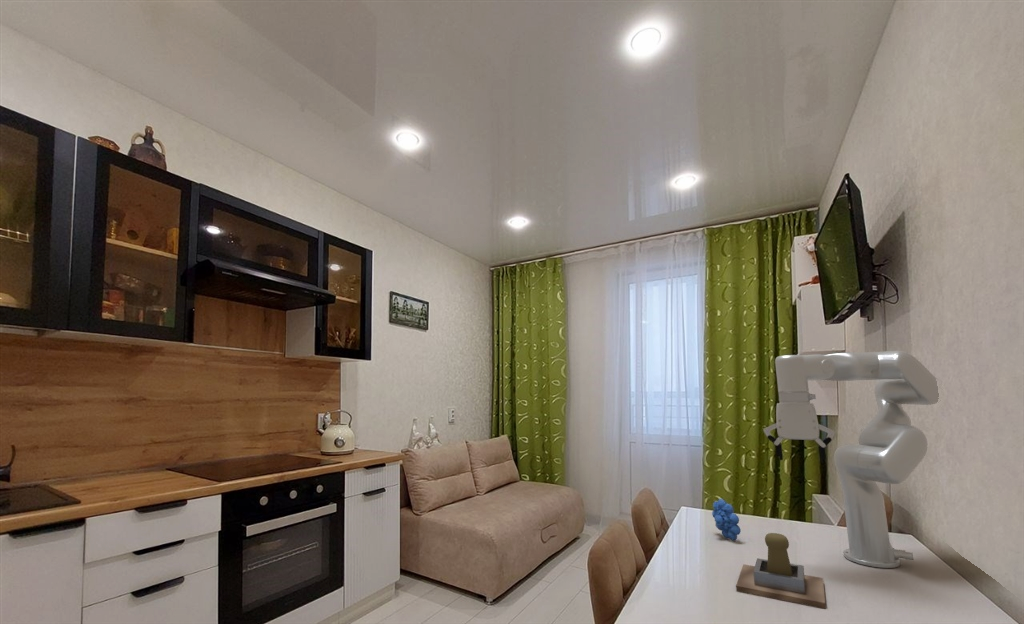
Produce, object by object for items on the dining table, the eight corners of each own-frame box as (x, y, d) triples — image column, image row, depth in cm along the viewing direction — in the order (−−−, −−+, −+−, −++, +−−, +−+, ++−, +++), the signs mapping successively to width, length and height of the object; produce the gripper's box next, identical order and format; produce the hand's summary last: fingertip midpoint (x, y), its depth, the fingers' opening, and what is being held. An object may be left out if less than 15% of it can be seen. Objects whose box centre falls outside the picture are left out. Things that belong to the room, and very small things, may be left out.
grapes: (704, 534, 155) (701, 496, 157) (721, 532, 156) (718, 495, 158) (729, 545, 143) (725, 504, 145) (746, 543, 145) (743, 503, 147)
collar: (804, 578, 115) (803, 565, 116) (804, 594, 107) (803, 580, 107) (758, 570, 121) (757, 558, 121) (754, 584, 112) (753, 571, 113)
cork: (794, 588, 110) (789, 539, 111) (766, 583, 113) (761, 535, 115) (795, 579, 115) (790, 532, 116) (767, 574, 118) (763, 529, 120)
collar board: (823, 583, 115) (822, 577, 116) (825, 608, 102) (825, 603, 102) (743, 569, 125) (743, 564, 125) (736, 591, 111) (735, 585, 112)
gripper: (830, 398, 130) (837, 461, 127) (761, 398, 139) (766, 456, 136) (831, 398, 124) (839, 465, 121) (759, 398, 133) (765, 460, 130)
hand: (801, 460), depth 129 cm, fingers open, 9 cm apart
